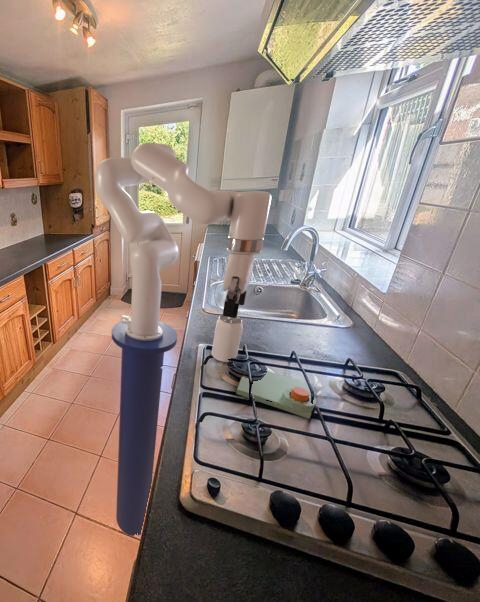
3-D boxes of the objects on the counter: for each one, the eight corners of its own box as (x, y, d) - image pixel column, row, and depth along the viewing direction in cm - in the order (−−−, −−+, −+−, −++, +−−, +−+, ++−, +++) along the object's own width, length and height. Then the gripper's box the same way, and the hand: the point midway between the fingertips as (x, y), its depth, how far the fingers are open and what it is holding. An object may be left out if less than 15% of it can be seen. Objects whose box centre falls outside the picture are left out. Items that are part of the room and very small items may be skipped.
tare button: (290, 399, 64) (291, 392, 64) (291, 391, 67) (292, 385, 66) (307, 404, 63) (309, 397, 62) (307, 396, 65) (309, 390, 64)
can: (240, 356, 85) (247, 318, 80) (230, 366, 80) (238, 326, 76) (217, 348, 89) (223, 311, 84) (207, 357, 85) (213, 318, 80)
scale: (235, 395, 70) (237, 384, 69) (245, 369, 79) (247, 359, 78) (312, 421, 62) (316, 409, 61) (313, 389, 71) (316, 378, 70)
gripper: (234, 238, 81) (225, 297, 87) (219, 250, 68) (209, 318, 75) (266, 240, 77) (254, 302, 83) (256, 253, 64) (243, 325, 70)
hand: (233, 310), depth 79 cm, fingers open, 9 cm apart
